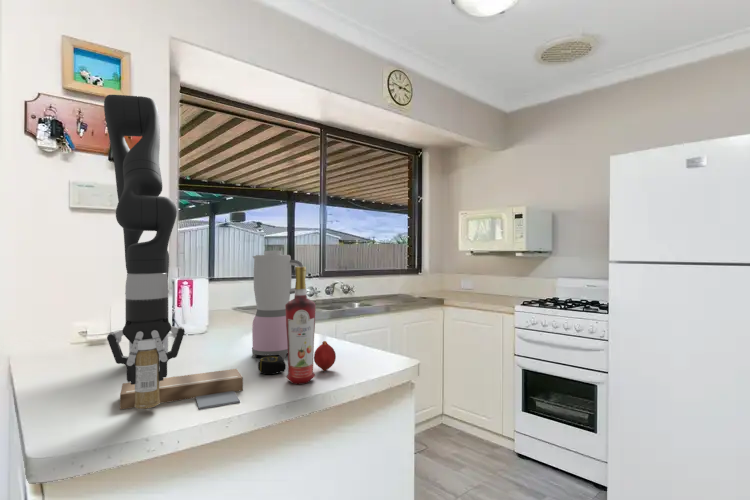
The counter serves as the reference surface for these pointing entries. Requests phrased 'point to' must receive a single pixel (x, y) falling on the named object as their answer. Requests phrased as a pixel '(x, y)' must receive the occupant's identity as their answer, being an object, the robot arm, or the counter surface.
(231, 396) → the grey pad
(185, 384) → the walnut board
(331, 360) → the onion
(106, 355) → the counter surface
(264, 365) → the tape measure
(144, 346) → the sprinkles bottle
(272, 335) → the blender
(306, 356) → the liquor
